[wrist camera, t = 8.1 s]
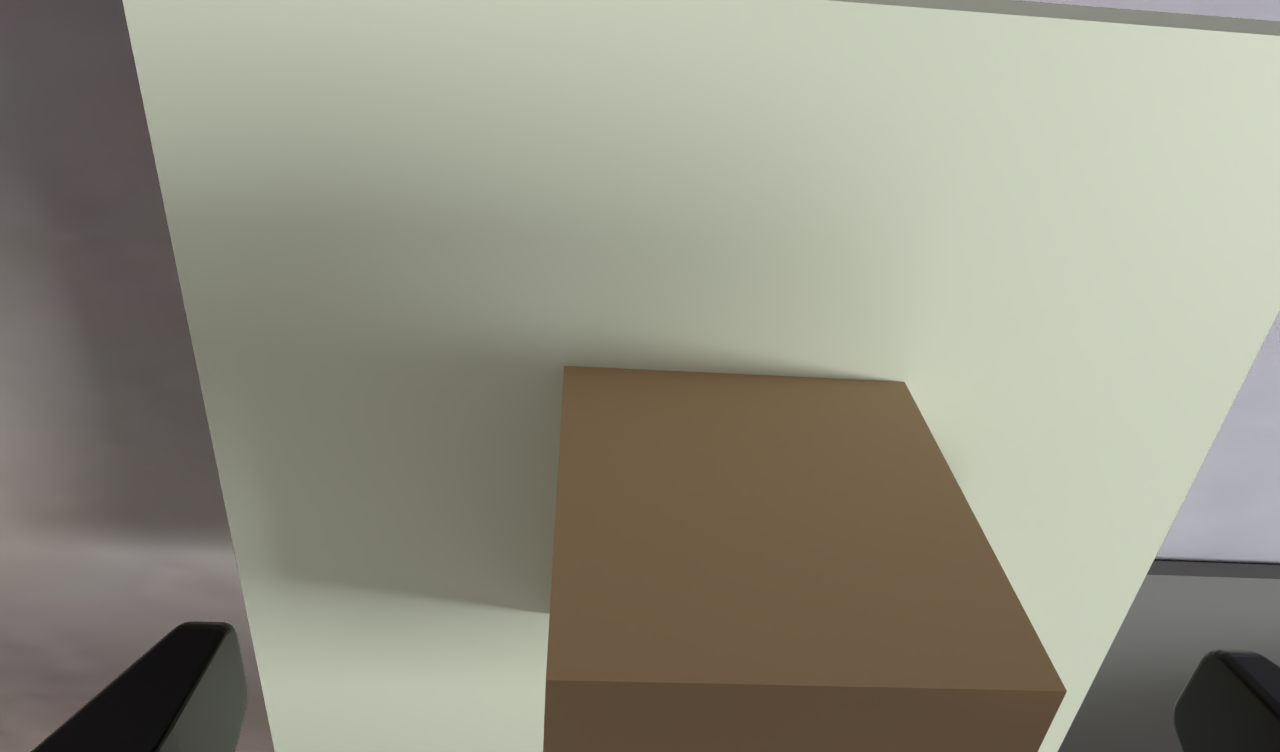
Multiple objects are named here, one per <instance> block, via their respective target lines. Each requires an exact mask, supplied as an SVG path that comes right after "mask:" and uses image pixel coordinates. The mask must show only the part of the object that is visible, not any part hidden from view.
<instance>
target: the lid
mask: <svg viewBox="0 0 1280 752" xmlns="http://www.w3.org/2000/svg"><path fill="white" fill-rule="evenodd" d="M122 1H123V6H124V11H125V16H126V21H127V26H128V31H129V36H130V41H131V46H132V51H133V56H134V61H135V65H136V70H137V75H138V80H139V85H140V90H141V95H142V100H143V105H144V110H145V115H146V120H147V125H148V129H149V134H150V139H151V144H152V149H153V154H154V159H155V164H156V169H157V174H158V179H159V184H160V189H161V194H162V198H163V203H164V208H165V213H166V218H167V223H168V228H169V233H170V238H171V243H172V248H173V253H174V258H175V263H176V267H177V272H178V277H179V282H180V287H181V292H182V297H183V302H184V307H185V312H186V317H187V322H188V327H189V331H190V336H191V341H192V346H193V351H194V356H195V361H196V366H197V371H198V376H199V381H200V386H201V391H202V396H203V400H204V405H205V410H206V415H207V420H208V425H209V430H210V435H211V440H212V445H213V450H214V455H215V460H216V465H217V469H218V474H219V479H220V484H221V489H222V494H223V499H224V504H225V509H226V514H227V519H228V524H229V529H230V533H231V538H232V543H233V548H234V553H235V558H236V563H237V568H238V573H239V578H240V583H241V588H242V593H243V598H244V602H245V607H246V612H247V617H248V622H249V627H250V632H251V637H252V642H253V647H254V652H255V657H256V662H257V667H258V671H259V676H260V681H261V686H262V691H263V696H264V701H265V706H266V711H267V716H268V721H269V726H270V731H271V735H272V740H273V745H274V750H275V752H1058V750H1059V748H1060V746H1061V744H1062V742H1063V740H1064V738H1065V736H1066V734H1067V732H1068V730H1069V728H1070V726H1071V724H1072V722H1073V720H1074V718H1075V716H1076V714H1077V712H1078V710H1079V708H1080V706H1081V704H1082V702H1083V700H1084V698H1085V696H1086V694H1087V692H1088V690H1089V688H1090V686H1091V684H1092V682H1093V680H1094V678H1095V676H1096V674H1097V672H1098V670H1099V668H1100V666H1101V664H1102V662H1103V660H1104V658H1105V656H1106V654H1107V652H1108V650H1109V648H1110V646H1111V644H1112V642H1113V640H1114V638H1115V636H1116V634H1117V632H1118V630H1119V628H1120V626H1121V625H1122V623H1123V621H1124V619H1125V617H1126V615H1127V613H1128V611H1129V609H1130V607H1131V605H1132V603H1133V601H1134V599H1135V597H1136V595H1137V593H1138V591H1139V589H1140V587H1141V585H1142V583H1143V581H1144V579H1145V577H1146V575H1147V573H1148V571H1149V569H1150V567H1151V565H1152V563H1153V561H1154V559H1155V557H1156V555H1157V553H1158V551H1159V549H1160V547H1161V545H1162V543H1163V541H1164V539H1165V537H1166V535H1167V533H1168V531H1169V529H1170V527H1171V525H1172V523H1173V521H1174V519H1175V517H1176V515H1177V513H1178V511H1179V509H1180V507H1181V505H1182V503H1183V501H1184V499H1185V497H1186V495H1187V493H1188V491H1189V489H1190V487H1191V485H1192V483H1193V481H1194V479H1195V477H1196V475H1197V473H1198V471H1199V469H1200V467H1201V465H1202V463H1203V461H1204V459H1205V457H1206V455H1207V453H1208V451H1209V449H1210V447H1211V445H1212V443H1213V441H1214V439H1215V437H1216V435H1217V433H1218V431H1219V429H1220V427H1221V425H1222V423H1223V421H1224V419H1225V418H1226V416H1227V414H1228V412H1229V410H1230V408H1231V406H1232V404H1233V402H1234V400H1235V398H1236V396H1237V394H1238V392H1239V390H1240V388H1241V386H1242V384H1243V382H1244V380H1245V378H1246V376H1247V374H1248V372H1249V370H1250V368H1251V366H1252V364H1253V362H1254V360H1255V358H1256V356H1257V354H1258V352H1259V350H1260V348H1261V346H1262V344H1263V342H1264V340H1265V338H1266V336H1267V334H1268V332H1269V330H1270V328H1271V326H1272V324H1273V322H1274V320H1275V318H1276V316H1277V314H1278V312H1279V310H1280V22H1279V21H1266V20H1254V19H1242V18H1229V17H1217V16H1204V15H1192V14H1179V13H1167V12H1154V11H1142V10H1129V9H1117V8H1104V7H1092V6H1079V5H1067V4H1054V3H1042V2H1030V1H1017V0H122Z"/></svg>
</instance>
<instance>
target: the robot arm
mask: <svg viewBox="0 0 1280 752" xmlns="http://www.w3.org/2000/svg"><path fill="white" fill-rule="evenodd" d="M246 704H247V681H246V676H245V672H244V667H243V662H242V657H241V653H240V648H239V643H238V638H237V634H236V632H235V629H234V628H233V626H232V625H230V624H228V623H225V622H186V623H183V624H181V625H179V626H177V627H176V628H174V629H173V630H172V631H171V632H170V633H168V634H167V635H166V636H165V637H164V638H163V639H161V640H160V641H159V642H158V643H157V644H156V645H154V646H153V647H152V648H151V649H150V650H149V651H147V652H146V653H145V654H144V655H143V656H142V657H140V658H139V659H138V660H137V661H136V662H135V663H133V664H132V665H131V666H130V667H129V668H128V669H127V670H125V671H124V672H123V673H122V674H121V675H120V676H118V677H117V678H116V679H115V680H114V681H113V682H111V683H110V684H109V685H108V686H107V687H106V688H104V689H103V690H102V691H101V692H100V693H99V694H97V695H96V696H95V697H94V698H93V699H92V700H90V701H89V702H88V703H87V704H86V705H85V706H83V707H82V708H81V709H80V710H79V711H78V712H76V713H75V714H74V715H73V716H72V717H71V718H69V719H68V720H67V721H66V722H65V723H64V724H62V725H61V726H60V727H59V728H58V729H57V730H55V731H54V732H53V733H52V734H51V735H50V736H48V737H47V738H46V739H45V740H44V741H43V742H41V743H40V744H39V745H38V746H37V747H36V748H35V749H33V750H32V751H31V752H235V750H236V746H237V743H238V739H239V735H240V731H241V727H242V723H243V719H244V715H245V710H246ZM1173 721H1174V728H1175V732H1176V735H1177V738H1178V740H1179V743H1180V746H1181V749H1182V752H1280V667H1279V666H1278V665H1276V664H1275V663H1273V662H1272V661H1270V660H1269V659H1268V658H1266V657H1264V656H1263V655H1261V654H1259V653H1257V652H1253V651H1249V650H1222V649H1217V650H1211V651H1210V652H1208V653H1206V654H1205V655H1204V656H1203V657H1202V659H1201V660H1200V662H1199V663H1198V665H1197V667H1196V669H1195V670H1194V672H1193V674H1192V675H1191V677H1190V679H1189V681H1188V682H1187V684H1186V686H1185V687H1184V689H1183V691H1182V692H1181V694H1180V696H1179V698H1178V699H1177V701H1176V703H1175V706H1174V711H1173Z"/></svg>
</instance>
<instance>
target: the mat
mask: <svg viewBox="0 0 1280 752" xmlns="http://www.w3.org/2000/svg"><path fill="white" fill-rule="evenodd" d="M1217 649H1222V650H1249V651H1253V652H1257V653H1259V654H1261V655H1263V656H1264V657H1266V658H1268V659H1269V660H1270V661H1272V662H1273V663H1275V664H1276V665H1278V666H1279V667H1280V565H1265V564H1236V563H1207V562H1178V561H1153V563H1152V565H1151V567H1150V569H1149V571H1148V573H1147V575H1146V577H1145V579H1144V581H1143V583H1142V585H1141V587H1140V589H1139V591H1138V593H1137V595H1136V597H1135V599H1134V601H1133V603H1132V605H1131V607H1130V609H1129V611H1128V613H1127V615H1126V617H1125V619H1124V621H1123V623H1122V625H1121V626H1120V628H1119V630H1118V632H1117V634H1116V636H1115V638H1114V640H1113V642H1112V644H1111V646H1110V648H1109V650H1108V652H1107V654H1106V656H1105V658H1104V660H1103V662H1102V664H1101V666H1100V668H1099V670H1098V672H1097V674H1096V676H1095V678H1094V680H1093V682H1092V684H1091V686H1090V688H1089V690H1088V692H1087V694H1086V696H1085V698H1084V700H1083V702H1082V704H1081V706H1080V708H1079V710H1078V712H1077V714H1076V716H1075V718H1074V720H1073V722H1072V724H1071V726H1070V728H1069V730H1068V732H1067V734H1066V736H1065V738H1064V740H1063V742H1062V744H1061V746H1060V748H1059V750H1058V752H1182V749H1181V746H1180V743H1179V740H1178V738H1177V735H1176V732H1175V728H1174V721H1173V711H1174V706H1175V703H1176V701H1177V699H1178V698H1179V696H1180V694H1181V692H1182V691H1183V689H1184V687H1185V686H1186V684H1187V682H1188V681H1189V679H1190V677H1191V675H1192V674H1193V672H1194V670H1195V669H1196V667H1197V665H1198V663H1199V662H1200V660H1201V659H1202V657H1203V656H1204V655H1205V654H1206V653H1208V652H1210V651H1211V650H1217Z"/></svg>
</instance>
